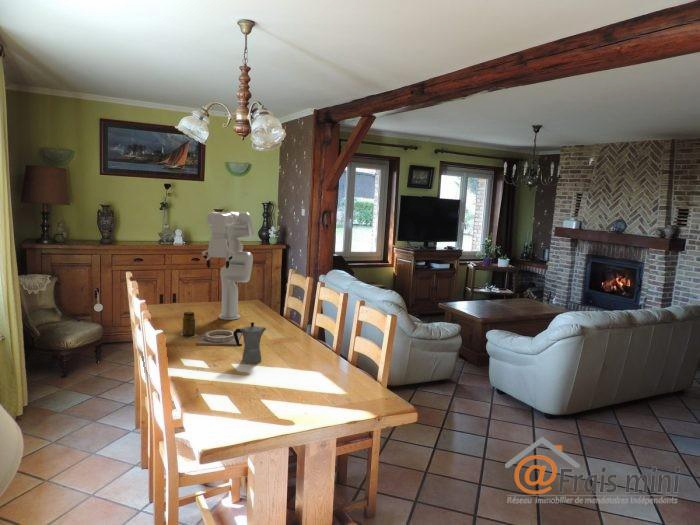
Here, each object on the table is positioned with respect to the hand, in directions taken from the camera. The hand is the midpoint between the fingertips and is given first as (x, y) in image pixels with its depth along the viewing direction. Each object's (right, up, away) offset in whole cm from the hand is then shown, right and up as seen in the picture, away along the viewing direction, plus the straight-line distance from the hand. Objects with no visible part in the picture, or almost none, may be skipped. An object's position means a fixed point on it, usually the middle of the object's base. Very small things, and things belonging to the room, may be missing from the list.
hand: (218, 267), depth 266 cm
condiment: (-13, -36, -7) cm, 39 cm away
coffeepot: (+25, -42, -40) cm, 64 cm away
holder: (+4, -37, -12) cm, 39 cm away
